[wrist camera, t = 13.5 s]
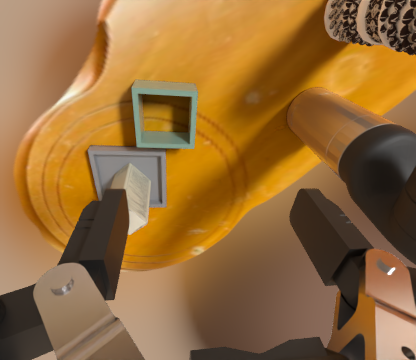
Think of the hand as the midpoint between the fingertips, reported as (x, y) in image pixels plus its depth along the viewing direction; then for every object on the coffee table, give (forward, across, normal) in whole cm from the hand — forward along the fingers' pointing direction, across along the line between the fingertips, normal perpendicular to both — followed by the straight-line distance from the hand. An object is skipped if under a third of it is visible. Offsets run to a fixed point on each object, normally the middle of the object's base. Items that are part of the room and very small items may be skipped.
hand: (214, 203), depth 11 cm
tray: (+33, +10, +21) cm, 40 cm away
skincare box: (+33, +10, +21) cm, 40 cm away
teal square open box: (+33, +3, +7) cm, 34 cm away
